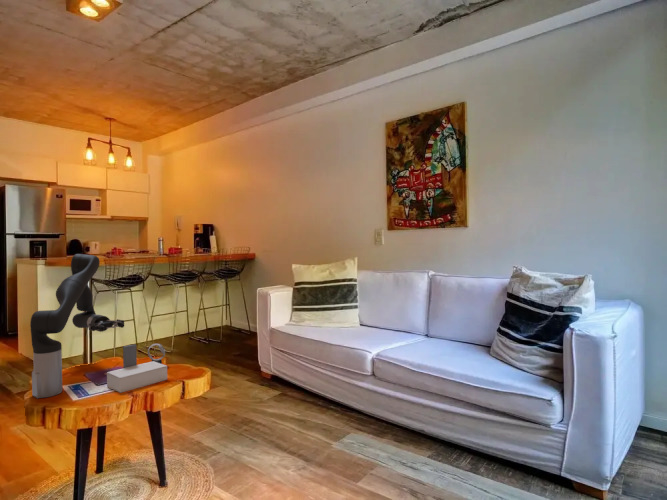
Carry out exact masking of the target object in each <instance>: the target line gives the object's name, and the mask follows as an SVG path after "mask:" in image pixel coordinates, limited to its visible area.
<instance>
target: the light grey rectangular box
mask: <svg viewBox="0 0 667 500" xmlns="http://www.w3.org/2000/svg"><path fill="white" fill-rule="evenodd" d="M166 380H168V365H166V364H163V363H162V364H160V363H157V362H154V361H152V360H151V361H149V362H144V363H139V364H137V365H135V366H131V367H127V368H120V369H115V370H111V371H107V372H106V384H107V385H106V387H107V388H109V389H112V390H114V391H116V392H118V393H124V392H128V391H132V390H135V389H139V388H143V387H147V386H149V385H153V384H156V383H159V382H165V381H166Z"/></svg>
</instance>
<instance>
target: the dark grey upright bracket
mask: <svg viewBox="0 0 667 500" xmlns="http://www.w3.org/2000/svg"><path fill="white" fill-rule="evenodd" d="M122 350H123V351H122V354H123V355H122V357H123V358H122V361H123V363H122V365H123V368H127V367H131V366H135V365H138V364H137V362H138V361H137V359H138V358H137V344H129V345H123V346H122Z"/></svg>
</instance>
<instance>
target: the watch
mask: <svg viewBox="0 0 667 500" xmlns="http://www.w3.org/2000/svg"><path fill="white" fill-rule="evenodd" d="M154 346H157V348H158V350H159V351H160V352H161V353H162V356H161V357H159V358H153V356H152V355H151V353H150V349H151V348H152V347H154ZM166 352H167V351H166V349H165V348H164V347H163V344H162V343H153V344H151V345H150V346H149V347H148V348H147V355H148V357H149V359H150V360H151V362H152V361H154V362H157V363H160V364H163V361H162V359H163V358H164V357H165V355H166Z"/></svg>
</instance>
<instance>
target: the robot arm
mask: <svg viewBox="0 0 667 500" xmlns="http://www.w3.org/2000/svg"><path fill="white" fill-rule="evenodd" d="M100 261H101V260H100V259H99V257H98V256H97V255H93V254H87V253H85V254H83V253H75V254H74V255H73V256H72V258H71V261H70V271H71V275H70V276H68V277H66V278H65V279H63V280H62V281H61V283H60V284H59V285H58V287H57V289H56V291H55V298H56V301H57V302H58V304H59V306H58V308H57V309H55V310H53V309H52V310H51V309H50V310H37V311H34V312H32V313H33V314H32V315H31V318H30V337H31V346H32V350H33V351H32V352H33V353H32V354H33V355H32V357H33V358H32V359H33V370H32V371H31V381H32V382H31V387H32V389H31V391H32V392H31V393H32V396H33V397H34V398H36V399H42V398H50V397H54V396H57V395H59V394H61V393H62V392H63V362H62V361H63V359H62V357H63V353H62V352H63V351H62V350H63V349H62V348H63V347H62V342H61V341H59V340H56V339H53V338H51V337H50V336H48V335H50V334H52V335H53V334H59V333H61V332H62V331H63V330H64V329H65V327H66V326H67V323H68V321H69V318H70V316H71V313H72V312H73V309H74V307H75V306H76V309H77V310H78V311H79V313H76V314H74V315H73V317H72V324H73V325H74V327H76V328H77V329H78V328H79V329H85V328H86V329H87V328H88V330H89V331H91V332H95V331H96V332H100V333H101V332H102V333H103V332H105V331H107V330H109V329H115V328H124V327H125V320H123V319H115V320H113V319H110V318H109V317H108V316H105V315H102V314H97V313H96V311H95V309H94V305H93V304H94V300H93V299H94V298H93V292H92V289H91V288H90V287H89V285H88V283H89V282H90V280H91V279H92V278H93V277H94V276H95V275H96V273H97V272H98V270H99V267H100Z"/></svg>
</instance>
